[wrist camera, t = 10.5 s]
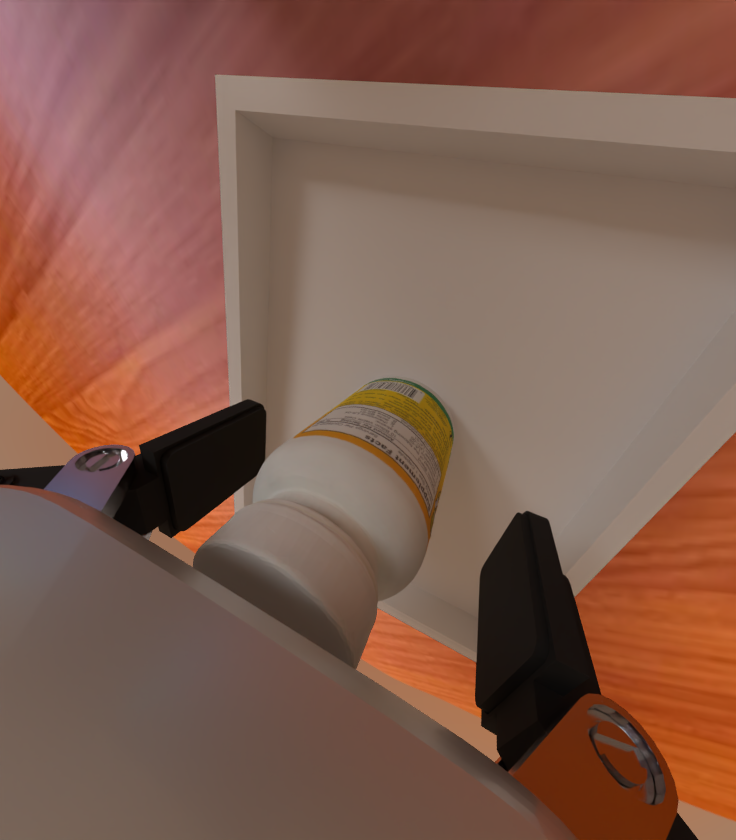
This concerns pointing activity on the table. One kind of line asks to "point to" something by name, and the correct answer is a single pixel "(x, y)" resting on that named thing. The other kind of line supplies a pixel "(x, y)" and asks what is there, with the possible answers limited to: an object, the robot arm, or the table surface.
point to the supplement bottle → (340, 515)
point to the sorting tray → (490, 296)
